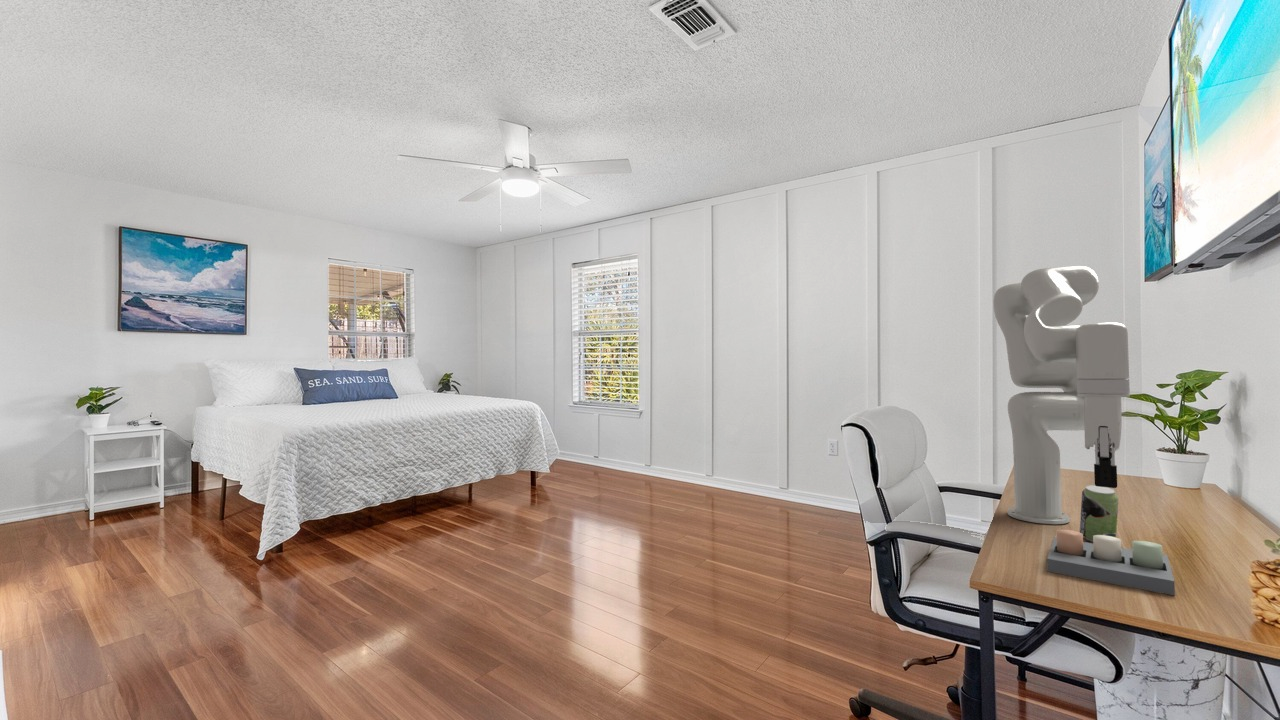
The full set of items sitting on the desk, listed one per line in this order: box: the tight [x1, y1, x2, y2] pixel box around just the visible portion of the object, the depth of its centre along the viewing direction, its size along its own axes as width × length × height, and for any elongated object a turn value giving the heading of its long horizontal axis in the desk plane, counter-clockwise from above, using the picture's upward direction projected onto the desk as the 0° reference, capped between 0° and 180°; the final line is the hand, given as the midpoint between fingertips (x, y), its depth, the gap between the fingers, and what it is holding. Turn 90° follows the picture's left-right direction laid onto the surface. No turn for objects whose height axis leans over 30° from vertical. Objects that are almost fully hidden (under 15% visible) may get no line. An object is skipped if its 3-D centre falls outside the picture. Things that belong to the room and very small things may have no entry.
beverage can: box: [1079, 484, 1119, 543], centre depth 118 cm, size 6×7×12 cm
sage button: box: [1131, 540, 1164, 569], centre depth 98 cm, size 4×4×4 cm
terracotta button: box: [1056, 529, 1084, 555], centre depth 105 cm, size 4×4×4 cm
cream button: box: [1092, 535, 1122, 562], centre depth 101 cm, size 4×4×4 cm
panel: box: [1046, 537, 1176, 596], centre depth 102 cm, size 16×17×2 cm
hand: (1106, 486), depth 101 cm, fingers closed
